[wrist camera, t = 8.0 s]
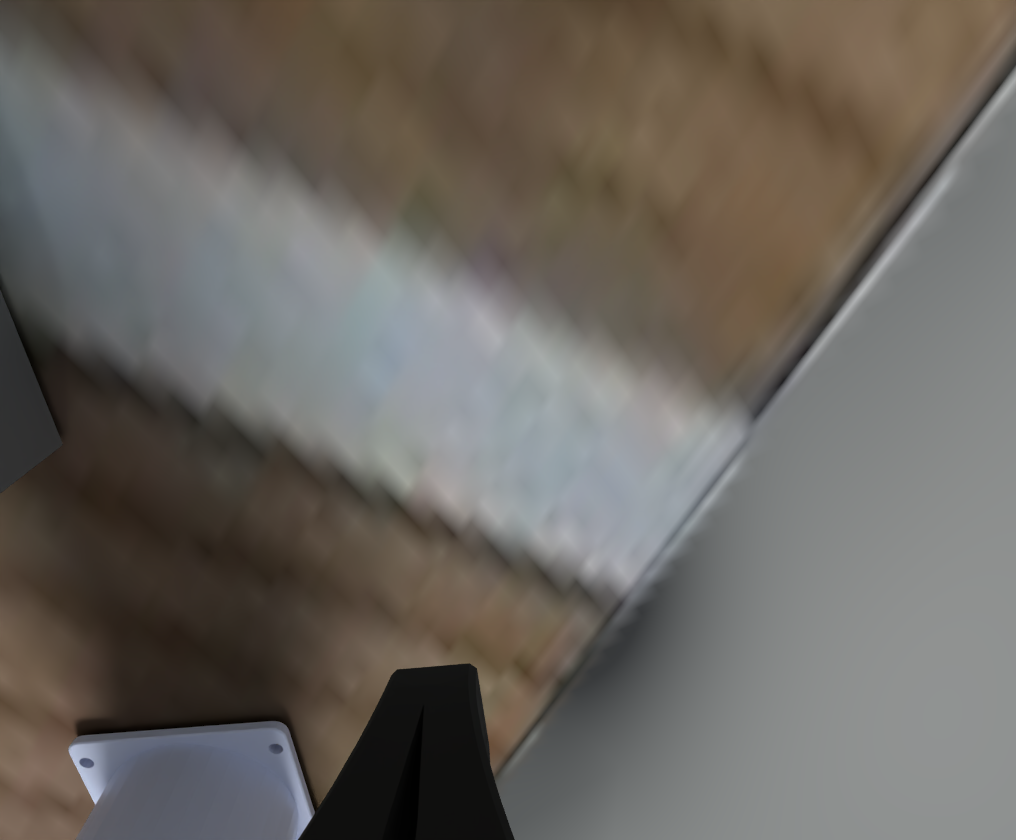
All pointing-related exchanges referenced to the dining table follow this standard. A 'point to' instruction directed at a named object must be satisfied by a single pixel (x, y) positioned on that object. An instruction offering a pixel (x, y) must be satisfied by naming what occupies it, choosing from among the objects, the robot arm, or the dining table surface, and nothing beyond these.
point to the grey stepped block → (21, 409)
